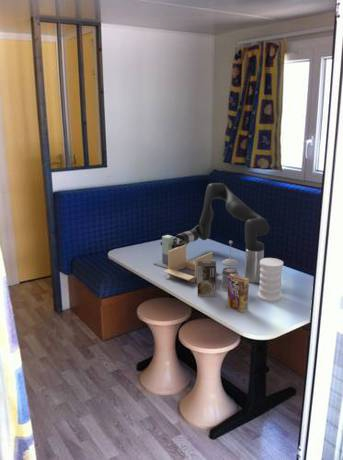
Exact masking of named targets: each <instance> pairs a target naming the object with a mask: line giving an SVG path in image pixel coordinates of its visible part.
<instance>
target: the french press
mask: <svg viewBox="0 0 343 460" xmlns="http://www.w3.org/2000/svg"><path fill="white" fill-rule="evenodd" d="M233 243H234V242H233V240H229V241H228V244H229V245H230V247H229V253H230V254H229V258H226V259H224V260H222V261H221V263H222V265H224V266H226V267H224V268H222V271H221V285H220V286H219V289H220V290H221V291H224V292H227V293H228V276H230V275H231V274H235V275H238V276H239V271H238V269H237V267H234V266H238V264H239V261H238V260H236V259H234V258H231V256H232V255H231V253H232V251H231V249H232V244H233Z"/></svg>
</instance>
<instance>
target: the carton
mask: <svg viewBox="0 0 343 460" xmlns="http://www.w3.org/2000/svg"><path fill="white" fill-rule="evenodd" d="M198 261H213V252H212V251H210V252H209V253H206V254H203V255H202V256H199V257H197V258H195V259H193V258H190V259H188V260H187V246H186V245H184V246H181V247H176V248H174V249H173V250H170V251H168V269H164V270H162V272H163V273H166V274H168V275H171V276H173V277H177V278H179V279H183V280H185V281H189V282H191V283H195V284H197V264H198ZM217 267H218V266H217V265H216V268H217ZM184 268H187V269H191V270H192V271H194V275H191V274H188V273H184V272H182V271H181V272H180V270H181V269H182V270H183V269H184Z"/></svg>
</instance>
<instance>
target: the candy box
mask: <svg viewBox="0 0 343 460" xmlns="http://www.w3.org/2000/svg"><path fill="white" fill-rule="evenodd" d="M249 285H250V282H249V279H248V278H245V276H241V275H239V274H238V275H236V274H230V276H228V292H227V303H226V306H227V308H230V309H232V310H235V311H237V312H241V313H245V312H247V310H248V308H249V307H248V306H249Z"/></svg>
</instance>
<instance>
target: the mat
mask: <svg viewBox="0 0 343 460" xmlns="http://www.w3.org/2000/svg"><path fill="white" fill-rule="evenodd" d="M152 264H153V265H155V266H157V267H161V268H164V269H165V270H167V269H168V265H167V264H164V263H162V259H161V260H158V261H156V262H155V261H154V262H153V263H152Z"/></svg>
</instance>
